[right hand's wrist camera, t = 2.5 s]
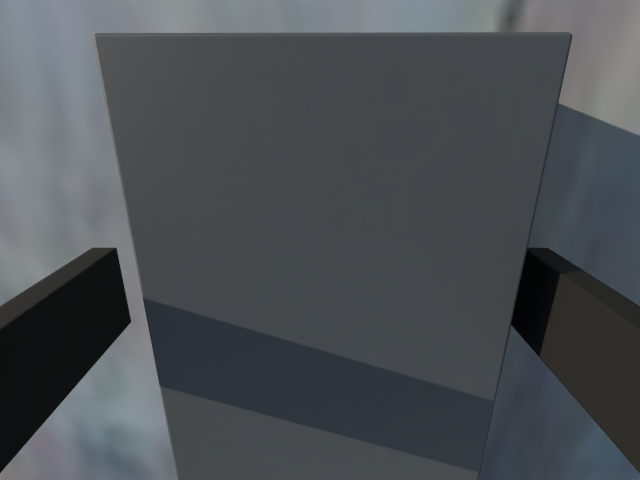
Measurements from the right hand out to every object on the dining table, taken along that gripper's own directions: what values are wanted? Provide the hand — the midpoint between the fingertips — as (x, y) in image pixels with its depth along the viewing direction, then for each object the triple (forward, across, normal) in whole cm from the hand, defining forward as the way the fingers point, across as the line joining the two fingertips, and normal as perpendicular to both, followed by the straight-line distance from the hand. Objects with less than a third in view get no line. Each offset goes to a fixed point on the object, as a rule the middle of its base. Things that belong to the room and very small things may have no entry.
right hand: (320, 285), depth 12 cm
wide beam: (+5, 0, -25) cm, 26 cm away
